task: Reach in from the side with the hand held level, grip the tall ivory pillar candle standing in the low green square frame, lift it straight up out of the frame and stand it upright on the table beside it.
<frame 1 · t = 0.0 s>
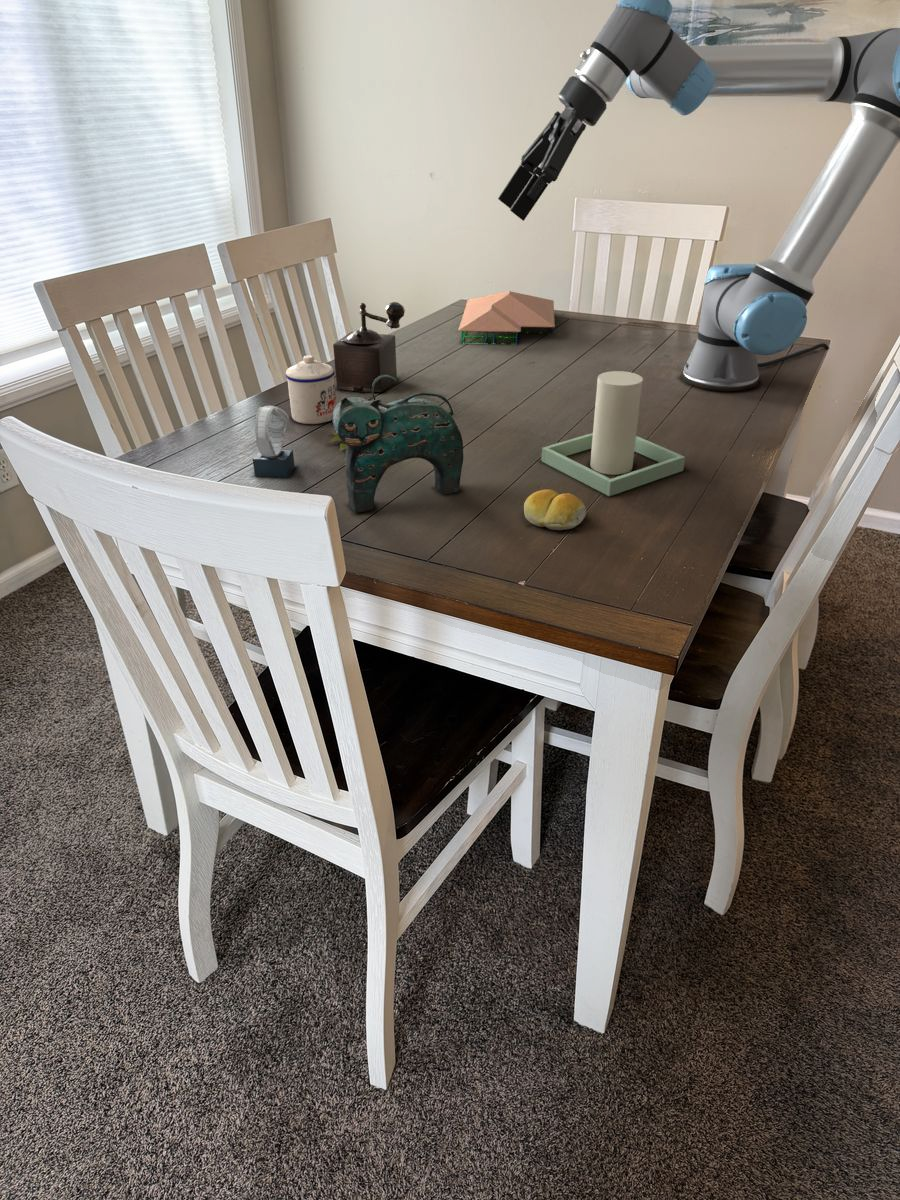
hand: (509, 209, 140), 36 cm above the table, tool tilted 35°, fingers open, 13 cm apart
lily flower: (360, 442, 149), on the table
green square frame: (611, 466, 139), on the table
watch: (275, 472, 138), on the table
ceramic cat: (401, 499, 129), on the table
bread roll: (554, 519, 123), on the table
teacup with lid: (318, 415, 161), on the table
pillar candle: (615, 423, 134), in the green square frame
house: (508, 327, 212), on the table
manual coffee grinder: (378, 386, 175), on the table
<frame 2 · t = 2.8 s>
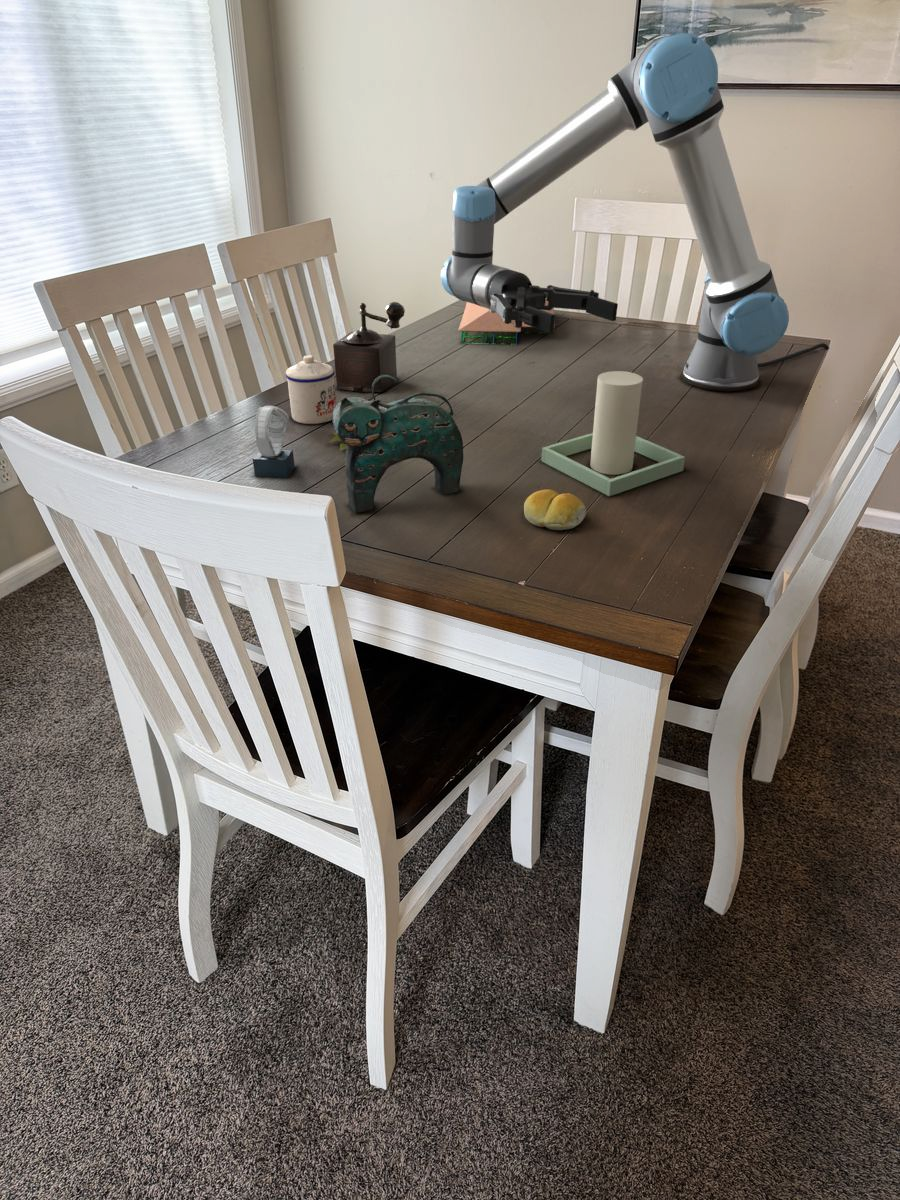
hand: (584, 318, 133), 22 cm above the table, tool horizontal, fingers open, 13 cm apart
nothing on the table moved.
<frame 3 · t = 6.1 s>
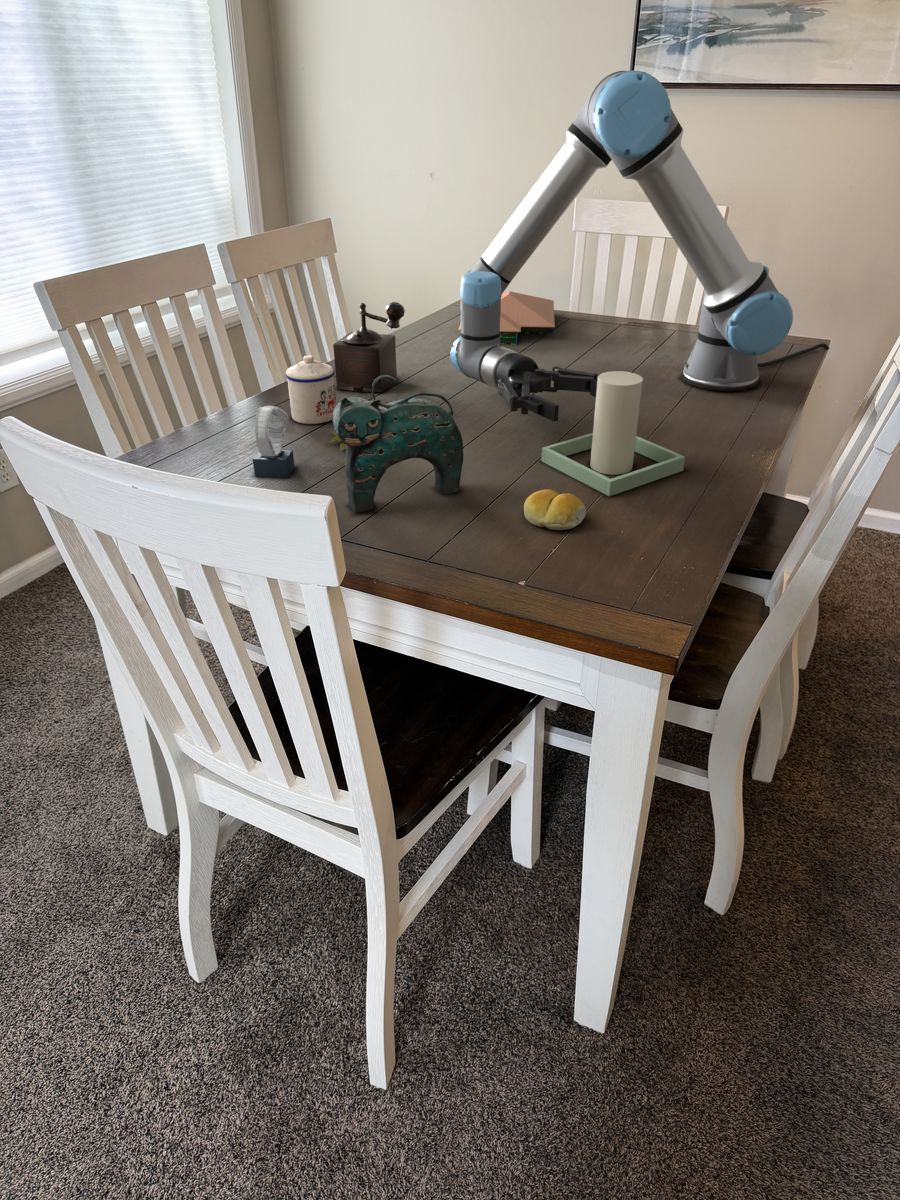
hand: (588, 405, 138), 9 cm above the table, tool horizontal, fingers open, 13 cm apart
nothing on the table moved.
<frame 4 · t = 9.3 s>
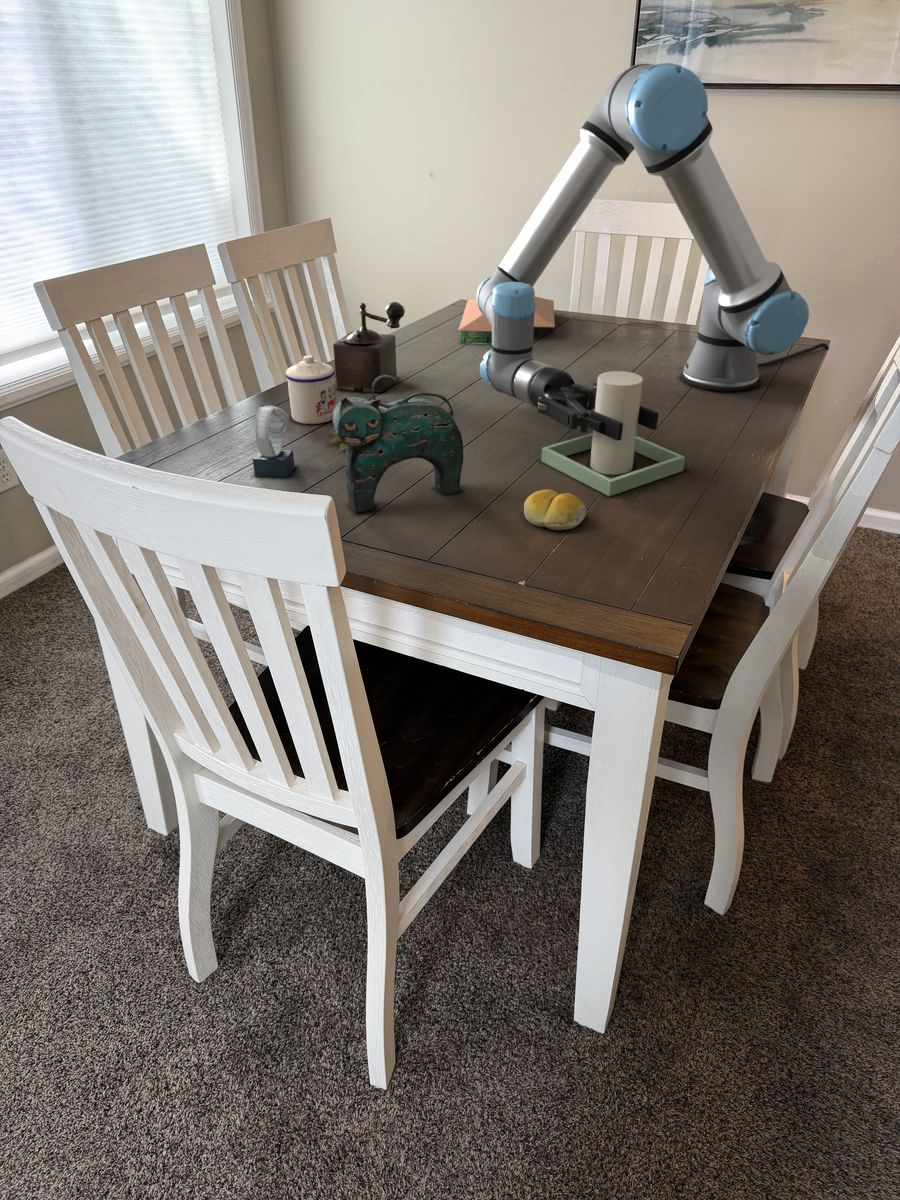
hand: (638, 426, 130), 8 cm above the table, tool horizontal, fingers closed on pillar candle, 7 cm apart
pillar candle: (615, 423, 134), in the green square frame, touching gripper
everything else where it was.
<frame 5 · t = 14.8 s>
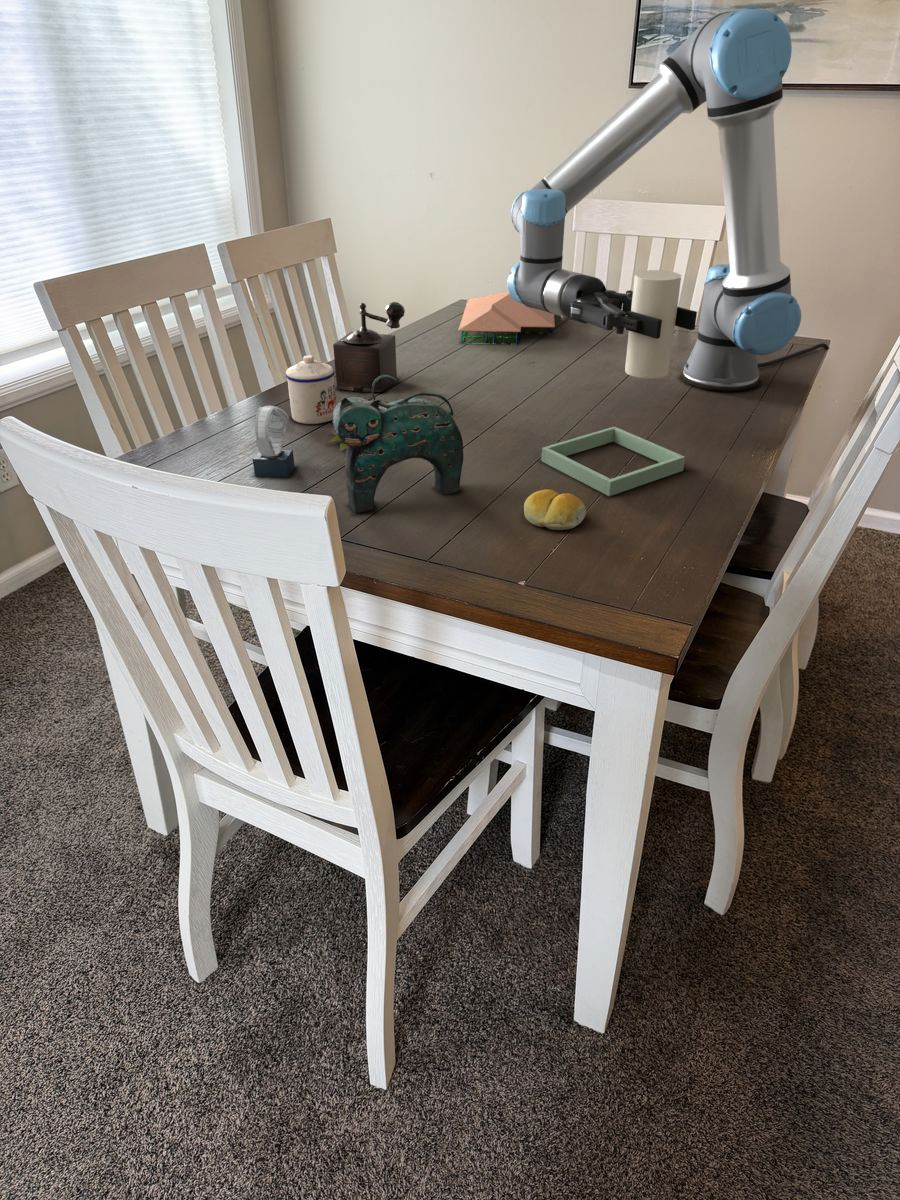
hand: (676, 325, 127), 23 cm above the table, tool horizontal, fingers closed on pillar candle, 7 cm apart
pillar candle: (652, 324, 131), point 22 cm above the table, touching gripper
everything else where it was.
when the fingers open (8 cm above the table, at t = 20.5 s): pillar candle stays where it is, on the table.
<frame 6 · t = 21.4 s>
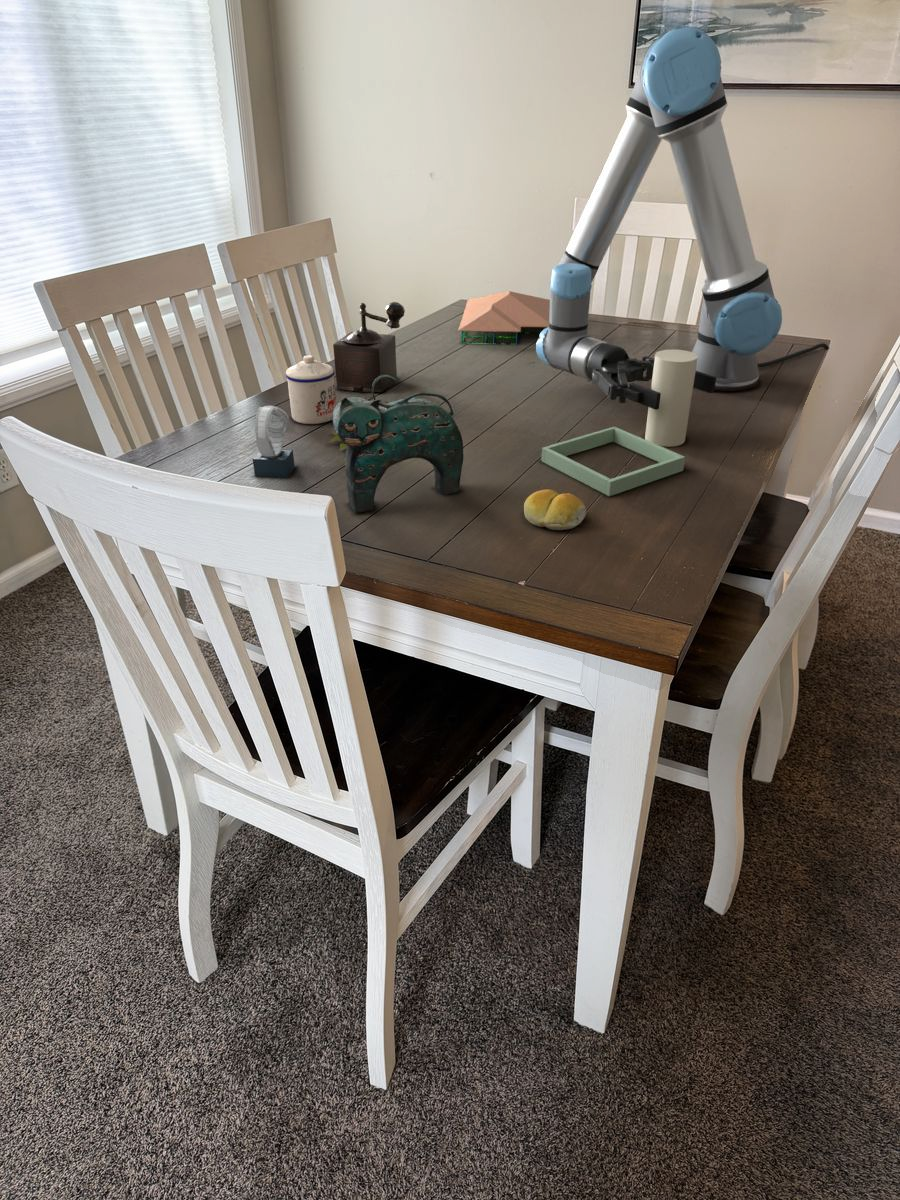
hand: (686, 393, 141), 9 cm above the table, tool horizontal, fingers open, 13 cm apart
pillar candle: (670, 398, 144), on the table
everything else where it was.
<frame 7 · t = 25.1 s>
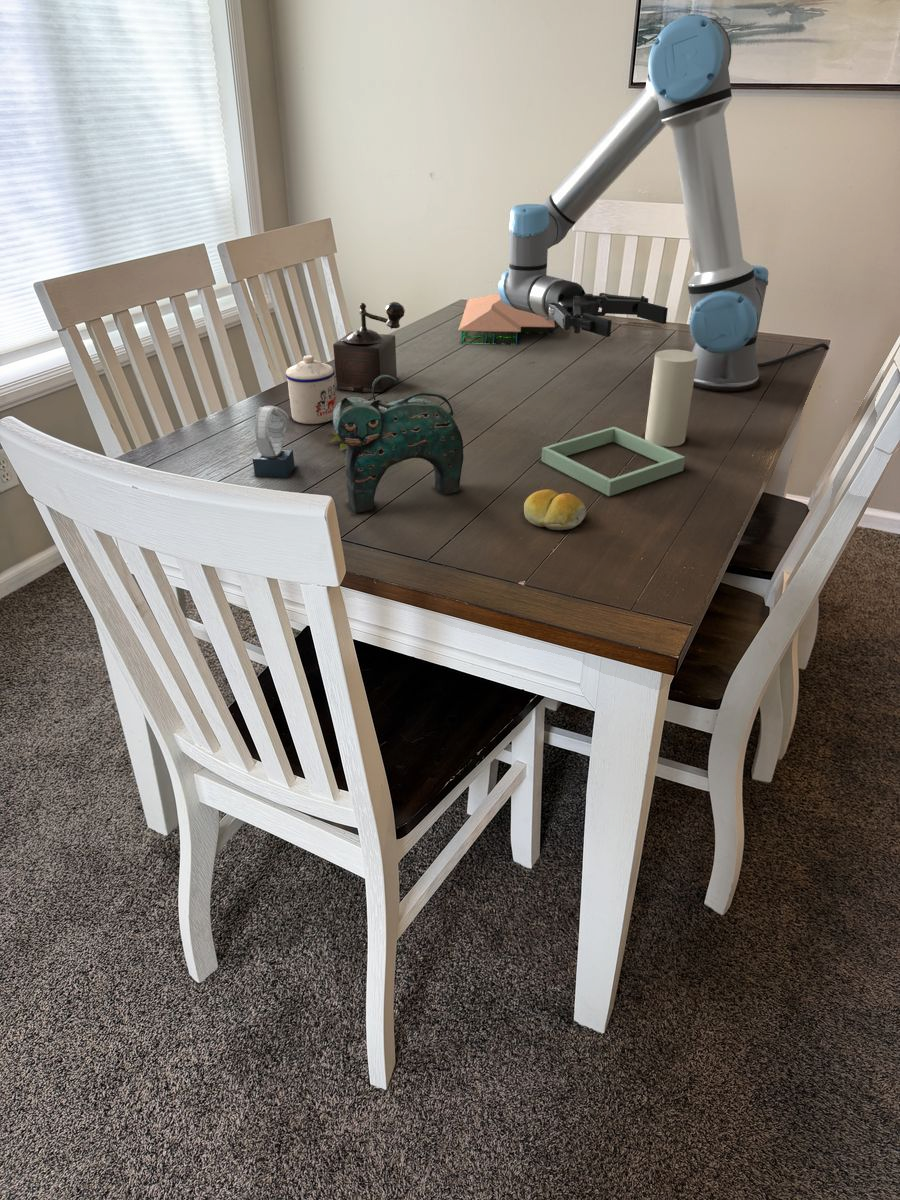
hand: (638, 322, 145), 18 cm above the table, tool horizontal, fingers open, 13 cm apart
nothing on the table moved.
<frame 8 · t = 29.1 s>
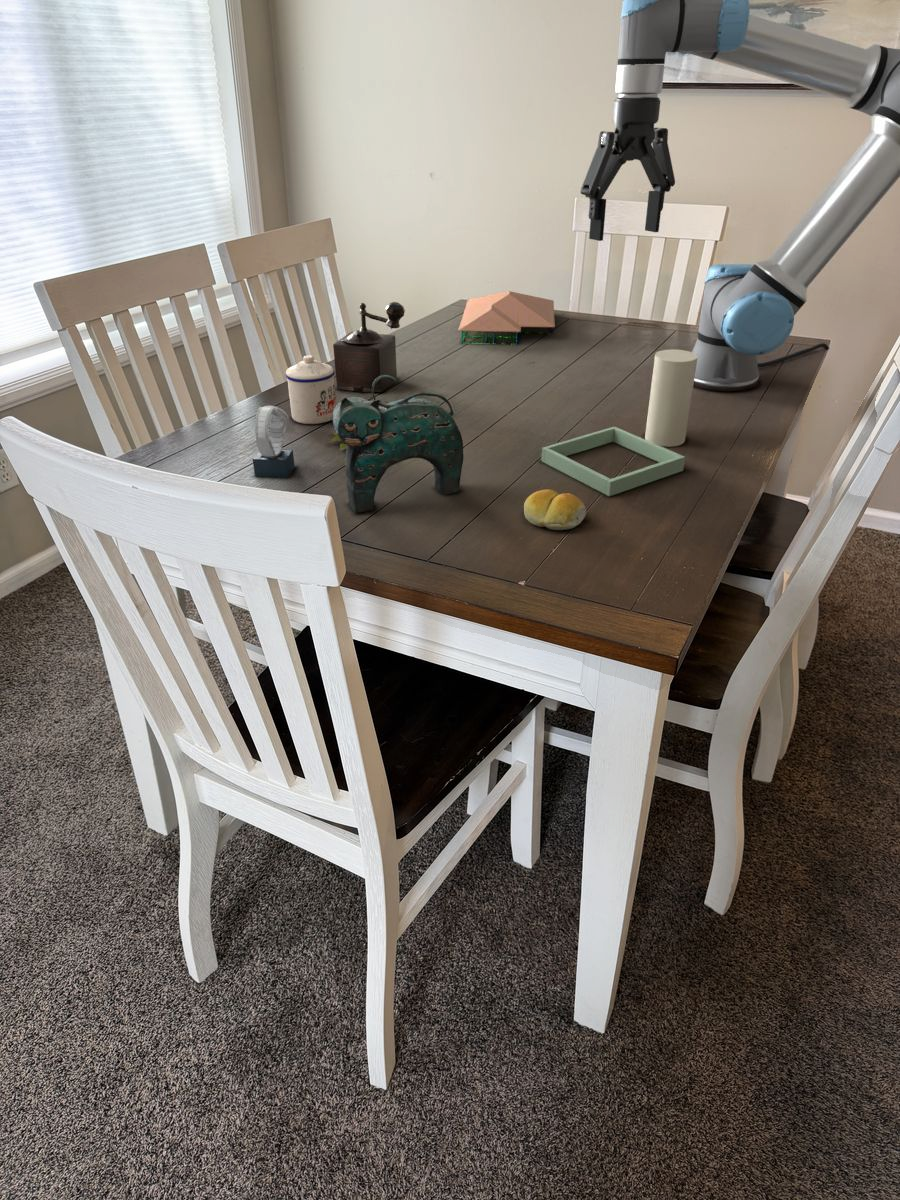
hand: (624, 235, 148), 31 cm above the table, tool pointing down, fingers open, 13 cm apart
nothing on the table moved.
at the end: pillar candle inside the target area (0.1 cm from its centre), on the table; pillar candle tilted 0°; the gripper is holding nothing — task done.
